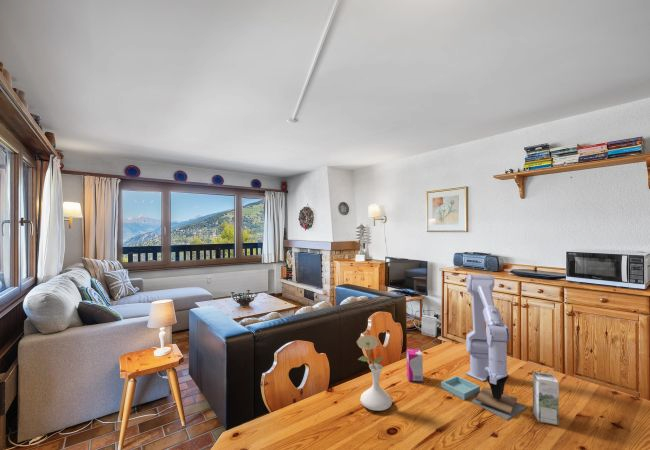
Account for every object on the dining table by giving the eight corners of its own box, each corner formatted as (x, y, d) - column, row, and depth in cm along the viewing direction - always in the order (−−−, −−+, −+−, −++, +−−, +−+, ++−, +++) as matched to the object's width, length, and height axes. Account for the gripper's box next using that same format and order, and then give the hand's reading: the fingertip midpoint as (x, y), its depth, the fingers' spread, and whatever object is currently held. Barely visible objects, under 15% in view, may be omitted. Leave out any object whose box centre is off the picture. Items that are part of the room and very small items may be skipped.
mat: (490, 391, 118) (490, 390, 118) (526, 407, 107) (526, 406, 107) (470, 401, 111) (470, 400, 111) (507, 420, 100) (507, 419, 100)
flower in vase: (395, 400, 112) (394, 332, 112) (388, 417, 101) (387, 343, 102) (361, 392, 117) (361, 328, 118) (351, 408, 107) (351, 337, 107)
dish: (456, 381, 125) (456, 375, 125) (479, 392, 117) (479, 386, 117) (441, 388, 120) (441, 382, 120) (464, 400, 112) (464, 393, 112)
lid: (483, 387, 117) (484, 376, 117) (516, 399, 110) (517, 387, 110) (475, 399, 109) (476, 387, 109) (510, 413, 102) (511, 400, 101)
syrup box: (552, 415, 102) (551, 373, 103) (559, 426, 97) (558, 381, 97) (532, 412, 104) (532, 370, 104) (538, 422, 99) (538, 378, 99)
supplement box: (420, 375, 131) (419, 349, 131) (423, 382, 125) (423, 354, 125) (406, 375, 131) (406, 348, 131) (408, 381, 125) (408, 354, 125)
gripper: (490, 349, 117) (490, 384, 117) (480, 362, 106) (480, 400, 106) (511, 354, 113) (511, 391, 112) (502, 368, 102) (503, 408, 102)
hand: (497, 396), depth 109 cm, fingers closed on lid, 3 cm apart
